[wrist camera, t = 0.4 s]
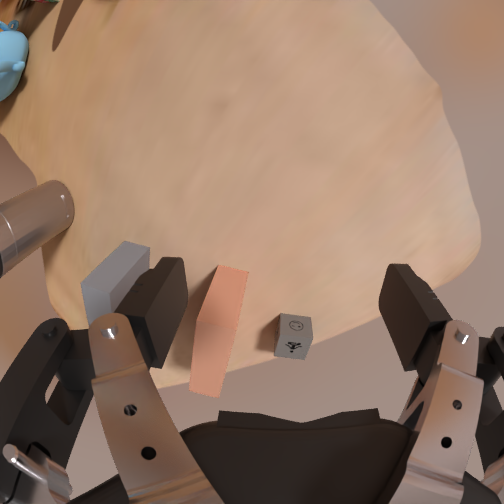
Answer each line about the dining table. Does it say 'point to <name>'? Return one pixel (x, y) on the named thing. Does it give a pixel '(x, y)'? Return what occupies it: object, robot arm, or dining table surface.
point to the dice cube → (293, 336)
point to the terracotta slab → (216, 330)
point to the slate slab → (113, 279)
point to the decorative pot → (11, 57)
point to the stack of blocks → (45, 0)
